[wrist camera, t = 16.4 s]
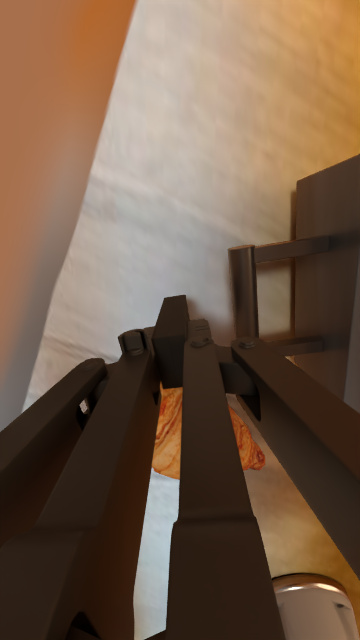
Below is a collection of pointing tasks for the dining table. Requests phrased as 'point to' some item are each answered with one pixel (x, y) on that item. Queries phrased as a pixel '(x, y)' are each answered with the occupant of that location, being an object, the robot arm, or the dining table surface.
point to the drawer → (315, 281)
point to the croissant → (170, 437)
